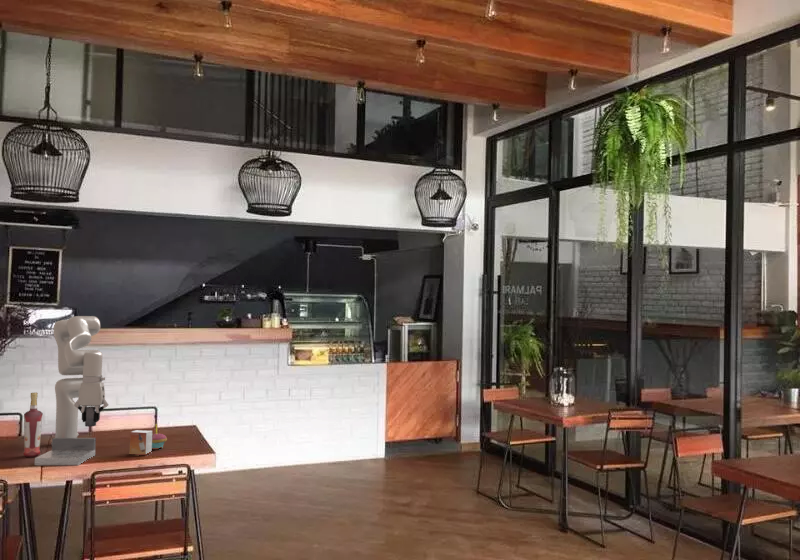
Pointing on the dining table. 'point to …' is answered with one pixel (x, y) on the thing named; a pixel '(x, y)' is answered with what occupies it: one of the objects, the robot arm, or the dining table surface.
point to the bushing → (90, 416)
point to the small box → (140, 442)
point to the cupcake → (158, 439)
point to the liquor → (32, 429)
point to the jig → (68, 451)
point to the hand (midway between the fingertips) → (90, 421)
